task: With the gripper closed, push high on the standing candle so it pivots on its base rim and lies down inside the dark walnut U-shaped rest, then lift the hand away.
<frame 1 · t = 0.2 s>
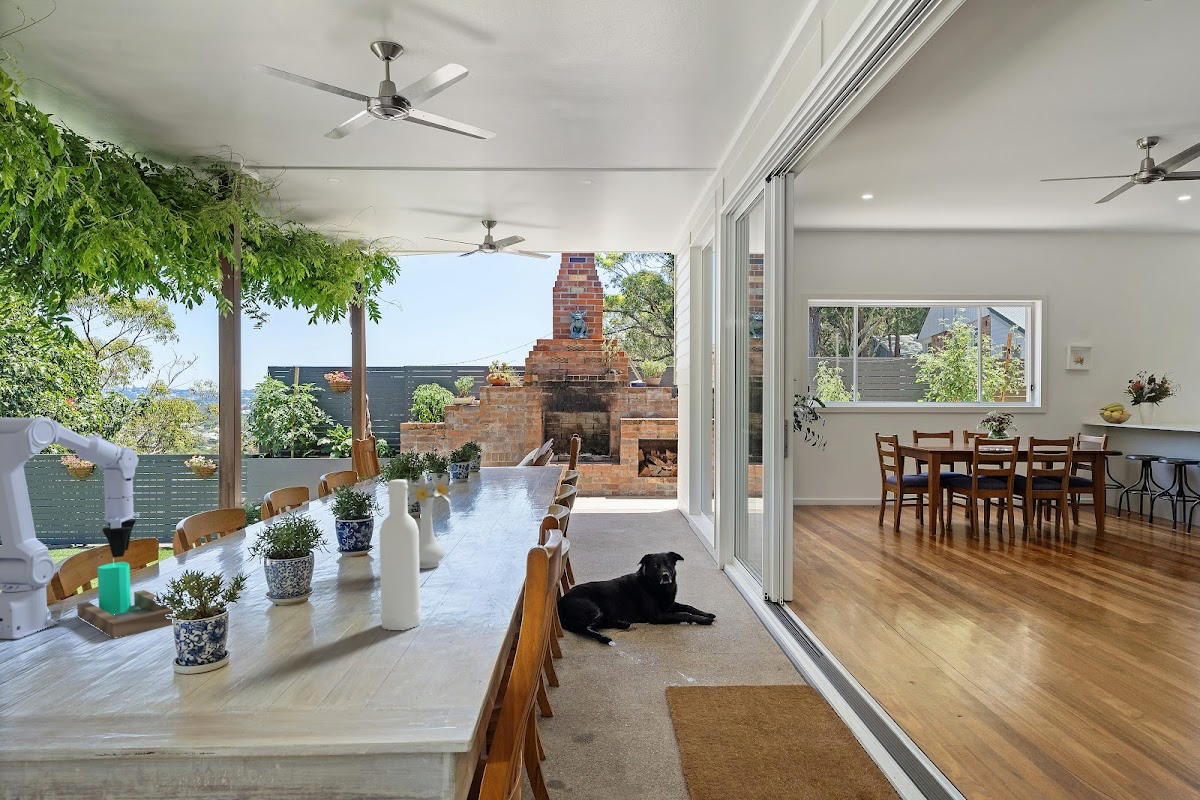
hand: (120, 553, 176), 10 cm above the table, tool pointing down, fingers open, 7 cm apart
candle: (115, 612, 163), resting in u rest
u rest: (115, 611, 163), on the table
bottle: (401, 625, 151), on the table
flower vase: (424, 567, 199), on the table
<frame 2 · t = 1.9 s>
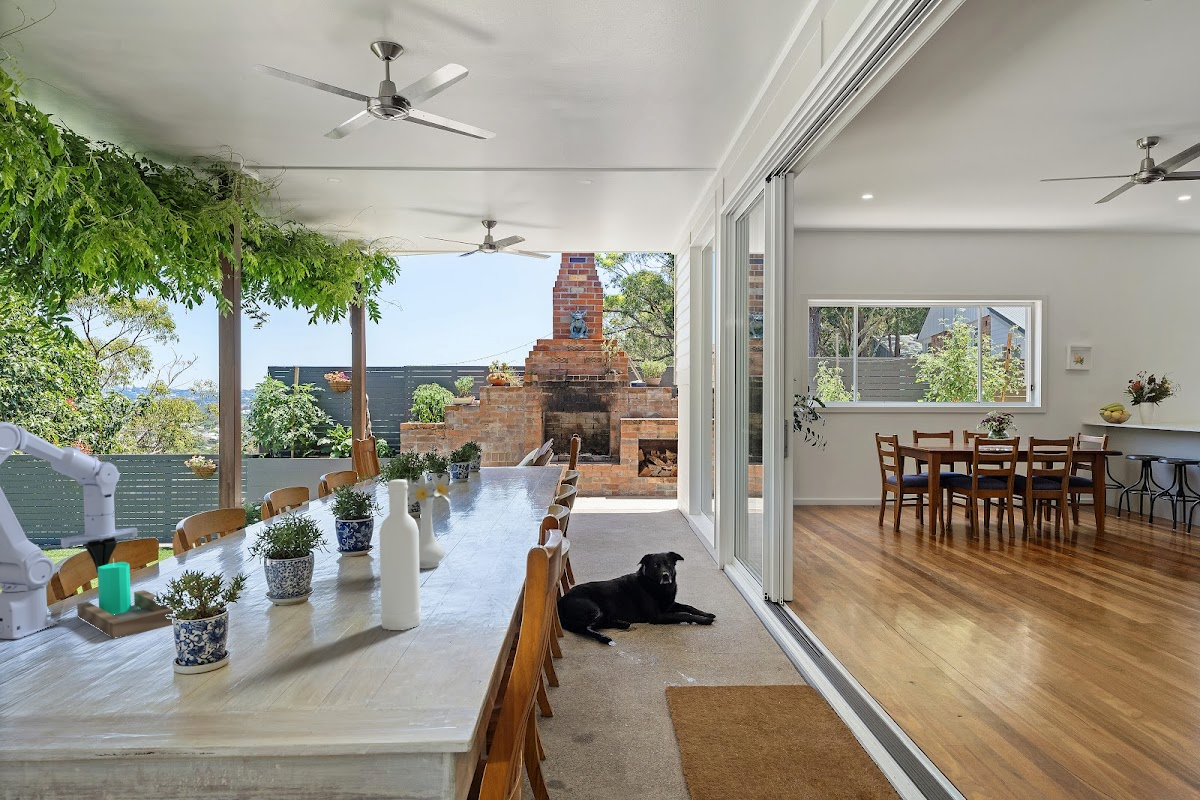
hand: (101, 573, 168), 7 cm above the table, tool pointing down, fingers closed
nothing on the table moved.
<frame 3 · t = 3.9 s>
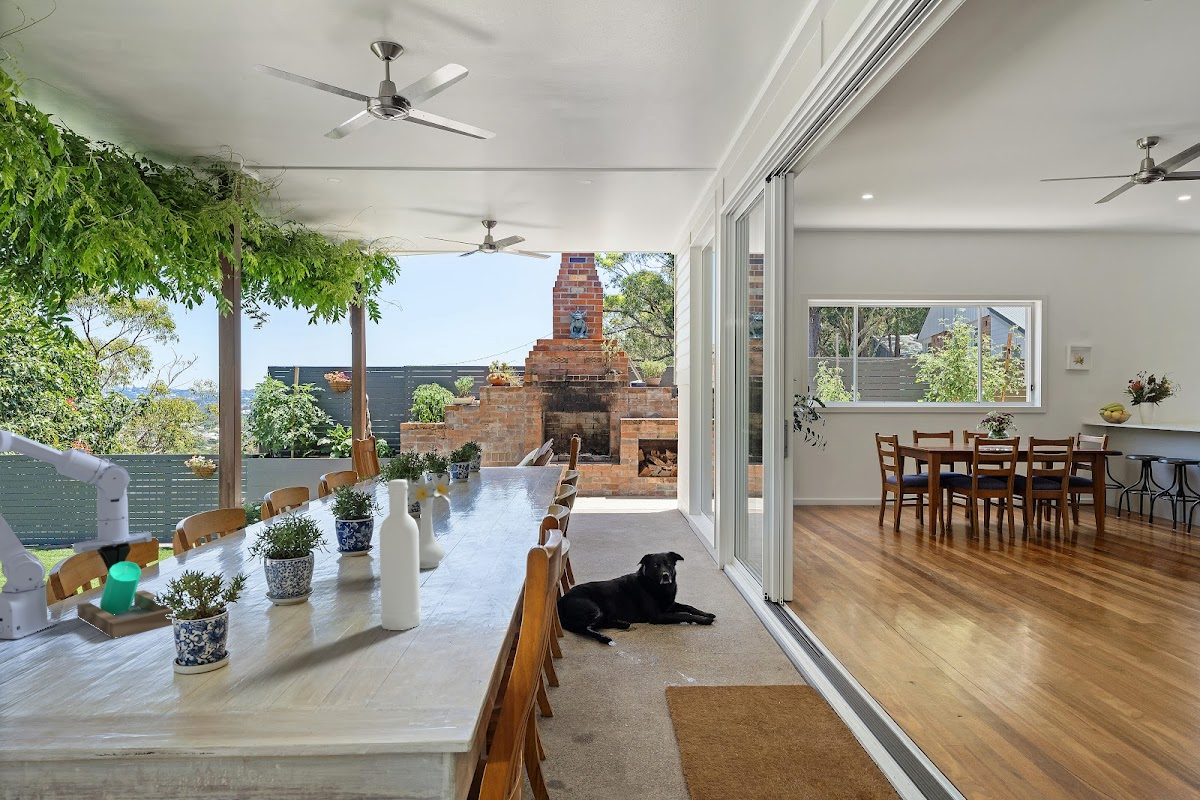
hand: (114, 579, 162), 7 cm above the table, tool pointing down, fingers closed
candle: (115, 604, 163), point 2 cm above the table
everything else where it was.
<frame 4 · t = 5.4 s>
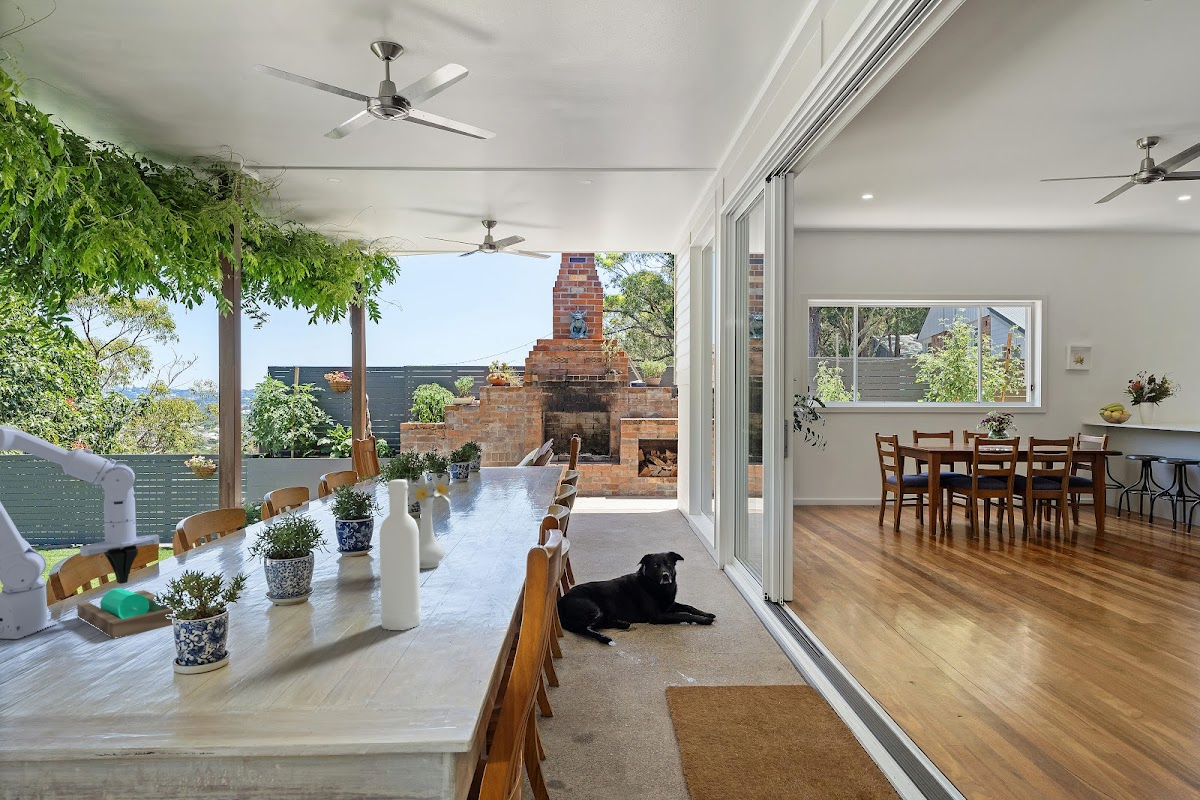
hand: (122, 582, 159), 7 cm above the table, tool pointing down, fingers closed
candle: (115, 601, 161), point 3 cm above the table, touching u rest
everything else where it was.
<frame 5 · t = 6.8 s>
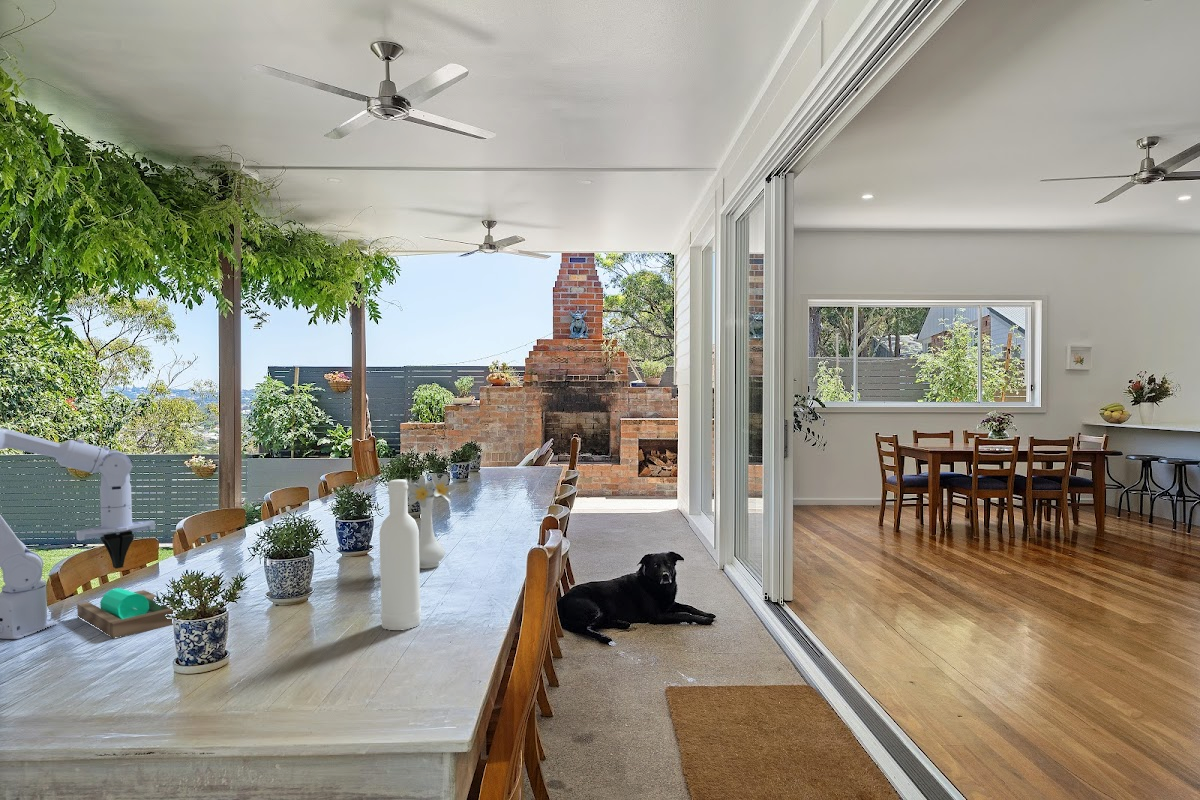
hand: (118, 567, 161), 10 cm above the table, tool pointing down, fingers closed
nothing on the table moved.
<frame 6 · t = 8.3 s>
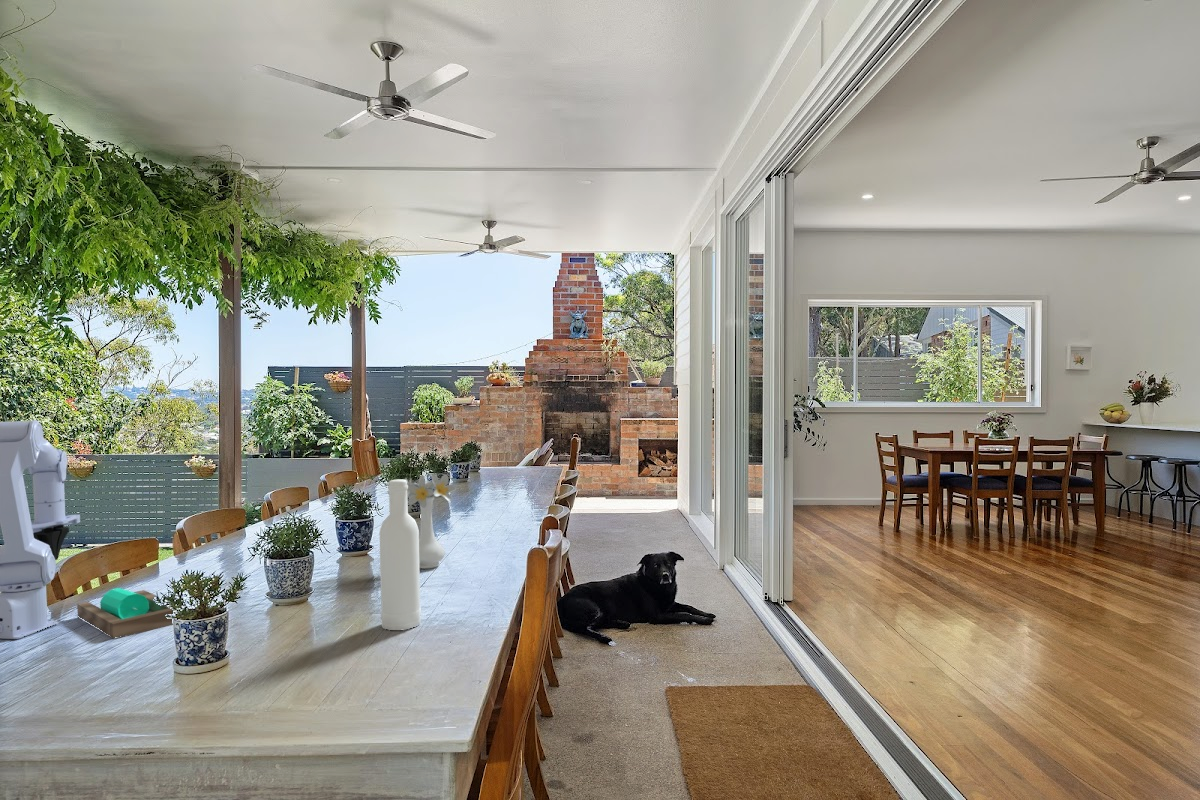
hand: (51, 560, 169), 10 cm above the table, tool pointing down, fingers closed
nothing on the table moved.
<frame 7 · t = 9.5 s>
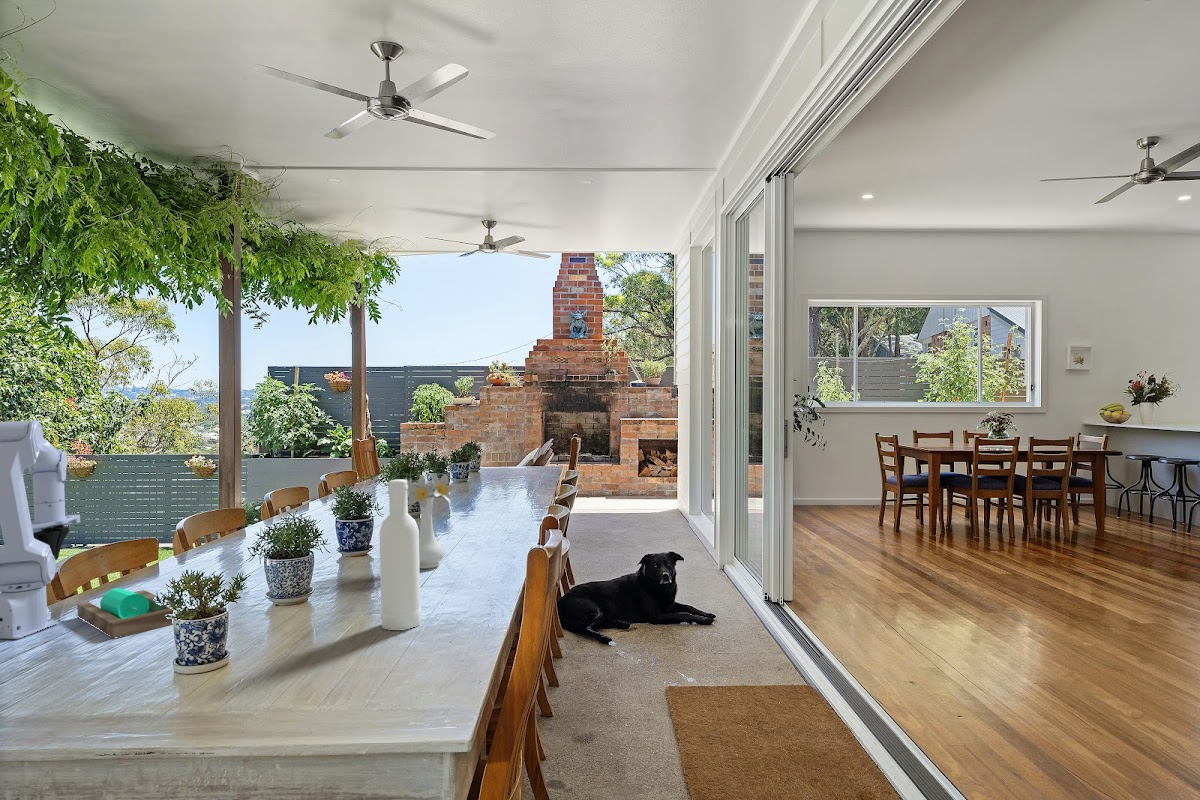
hand: (51, 560, 169), 10 cm above the table, tool pointing down, fingers closed
nothing on the table moved.
at the end: candle tilted 87°; candle inside the target area on the u rest (1.4 cm from its centre), point 2.9 cm above the u rest's base; the gripper is holding nothing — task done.
